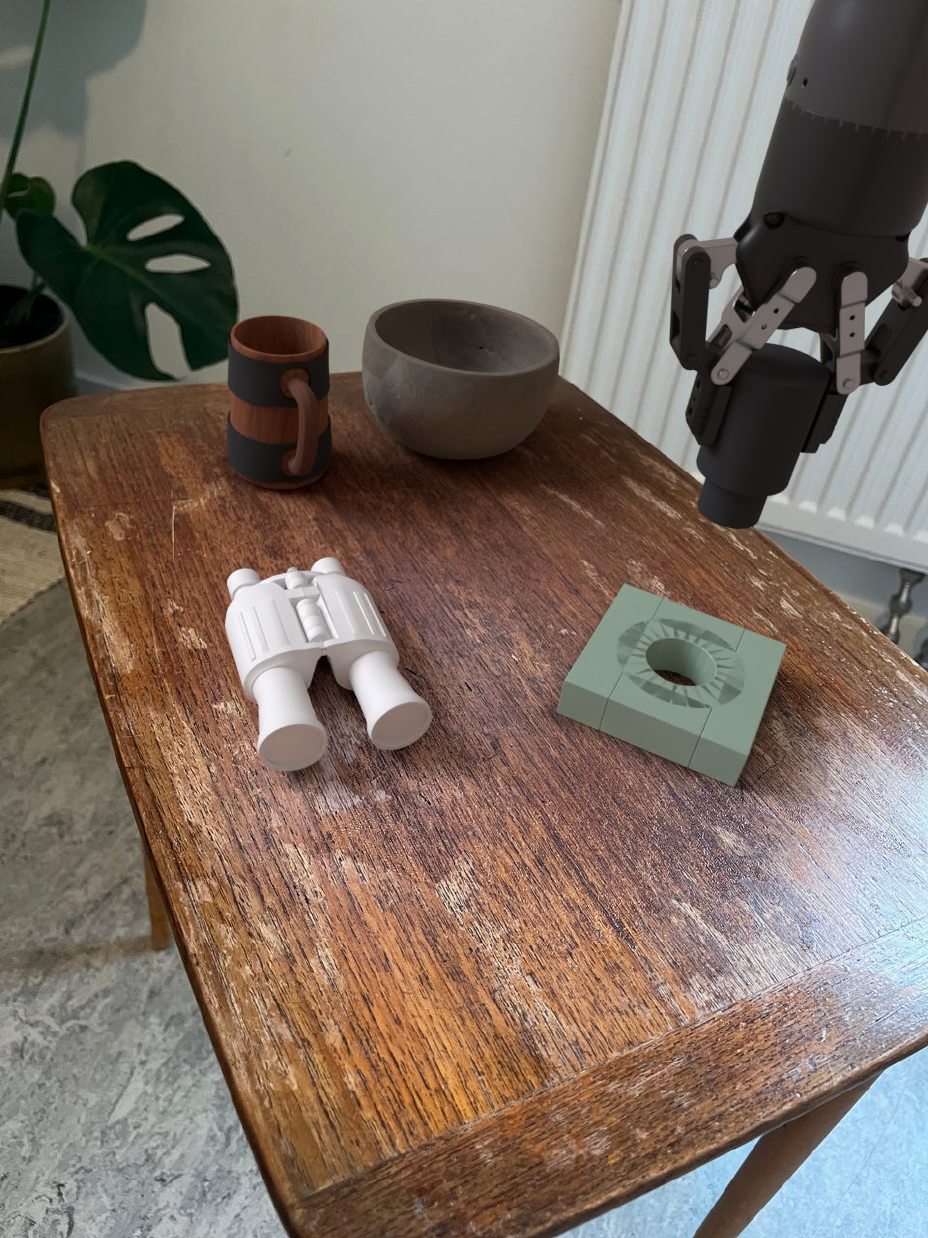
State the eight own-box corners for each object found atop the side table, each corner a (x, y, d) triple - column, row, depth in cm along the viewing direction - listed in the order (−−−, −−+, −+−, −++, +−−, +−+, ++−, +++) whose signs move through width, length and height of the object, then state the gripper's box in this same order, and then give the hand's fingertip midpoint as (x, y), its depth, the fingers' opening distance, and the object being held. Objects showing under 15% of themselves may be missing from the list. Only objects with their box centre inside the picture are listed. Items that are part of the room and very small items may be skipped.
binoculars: (260, 783, 56) (258, 727, 53) (210, 610, 67) (206, 555, 64) (430, 747, 59) (437, 693, 56) (356, 588, 70) (359, 536, 67)
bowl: (470, 376, 99) (482, 280, 92) (583, 459, 89) (605, 357, 82) (321, 408, 90) (324, 304, 84) (428, 504, 80) (440, 394, 73)
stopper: (780, 505, 57) (837, 360, 51) (762, 548, 53) (820, 397, 47) (696, 477, 58) (741, 332, 52) (672, 517, 55) (718, 367, 49)
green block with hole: (773, 675, 68) (787, 644, 66) (734, 788, 60) (748, 755, 58) (615, 614, 71) (624, 582, 70) (556, 713, 63) (564, 679, 61)
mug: (258, 523, 75) (254, 386, 67) (215, 447, 83) (208, 316, 75) (361, 505, 78) (368, 373, 71) (310, 433, 86) (312, 307, 79)
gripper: (739, 104, 38) (639, 471, 49) (1069, 142, 40) (902, 488, 51) (692, 63, 44) (612, 400, 55) (983, 98, 46) (849, 417, 57)
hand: (753, 441), depth 53 cm, fingers closed on stopper, 5 cm apart
